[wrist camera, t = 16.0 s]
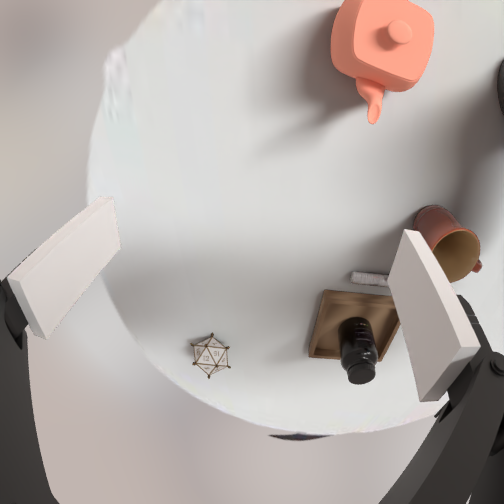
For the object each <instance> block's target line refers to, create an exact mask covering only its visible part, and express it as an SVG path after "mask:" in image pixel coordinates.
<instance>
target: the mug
mask: <svg viewBox="0 0 504 504" xmlns="http://www.w3.org/2000/svg"><path fill="white" fill-rule="evenodd" d="M413 231H419V232H420V234H421V235H422V237H423V238H424V240H425V242H426V243H427V245H428V246H429V248H430V250H431V251H432V253H433V255H434V256H435V258H436V260H437V261H438V263H439V265H440V267H441V268H442V270H443V272H444V274H445V275H446V277H447V279H448V281H449V283H452V282H455V281H458V280H460V279H462V278H464V277H465V276H467V275H468V274H469V273H470V272H471V271H473V272H475V273H478V272H479V271H480V270H481V268H482V263H481V262H480V260H479V255H480V243H479V240H478V238H477V236H476V235H475V234H474V233H473V232H472V231H470V230H468V229H466V228H464V227H462V226H461V225H460V224H459V222H458V221H457V220H456V219H455V217H454V216H453V215H452V214H451V213H450V212H449V211H448V210H446V209H445V208H443V207H441V206H438V205H431V206H428V207H425V208H424V209H422V210H421V211H420V212H419V213H418V214H417V216H416V218H415V220H414V223H413Z"/></svg>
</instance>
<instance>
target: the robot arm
mask: <svg viewBox="0 0 504 504" xmlns="http://www.w3.org/2000/svg"><path fill="white" fill-rule="evenodd" d="M498 96H499V102H500V106H501V109H502V112H503V114H504V61H503V63H502V65H501V67H500V70H499V75H498ZM120 249H121V242H120V237H119V231H118V225H117V219H116V213H115V206H114V199H113V197H99V198H98V199H97V200H95V201H94V202H93V203H91V204H90V205H89V206H88V207H86V208H85V209H84V210H82V211H81V212H80V213H79V214H77V215H76V216H75V217H74V218H72V219H71V220H70V221H69V222H67V223H66V224H65V225H64V226H63V227H61V228H60V229H59V230H58V231H57V232H56V233H54V234H53V235H52V236H51V237H50V238H49V239H47V240H46V241H45V242H44V243H43V244H42V245H41V246H39V247H38V248H37V249H35V250H34V251H33V252H32V253H31V254H30V255H29V256H28V257H26V258H25V259H24V260H23V261H22V263H20V264H19V265H18V266H17V267H16V268H15V269H14V270H13V271H12V272H11V273H10V274H9V275H8V276H7V277H6V278H5V279H4V280H3V281H2V282H1V280H0V504H59V503H58V502H57V500H56V499H55V498H54V496H53V495H52V493H51V490H50V487H49V484H48V480H47V477H46V473H45V469H44V465H43V461H42V457H41V452H40V448H39V443H38V438H37V433H36V427H35V421H34V414H33V408H32V400H31V391H30V380H29V367H28V347H27V333H26V331H25V327H26V326H27V325H28V324H29V326H30V328H31V330H32V332H33V333H34V335H36V336H38V337H41V338H43V339H46V340H48V339H49V337H50V336H51V334H52V333H53V332H54V330H55V329H56V328H57V326H58V325H59V323H60V322H61V321H62V319H63V318H64V317H65V316H66V314H67V313H68V312H69V310H70V309H71V308H72V306H73V305H74V304H75V303H76V301H77V300H78V299H79V297H80V296H81V295H82V294H83V293H84V291H85V290H86V289H87V288H88V286H89V285H90V284H91V283H92V281H93V280H94V279H95V278H96V277H97V275H98V274H99V273H100V272H101V271H102V269H103V268H104V267H105V266H106V265H107V264H108V262H109V261H110V260H111V259H112V258H113V257H114V255H115V254H116V253H117V252H118V251H119V250H120ZM387 282H388V285H389V288H390V291H391V294H392V297H393V300H394V303H395V307H396V310H397V313H398V317H399V320H400V323H401V327H402V330H403V334H404V338H405V341H406V345H407V349H408V353H409V357H410V361H411V365H412V369H413V373H414V377H415V382H416V386H417V391H418V396H419V401H420V402H428V401H439V399H440V398H441V397H442V396H443V395H444V394H445V392H446V391H447V392H448V395H449V401H448V402H447V403H446V404H445V405H444V406H443V407H442V408H441V409H440V410H439V411H438V412H437V414H436V415H435V416H434V417H435V418H436V417H438V418H437V420H436V422H435V423H434V425H433V427H432V428H431V430H430V432H429V434H428V435H427V437H426V438H425V440H424V442H423V443H422V445H421V446H420V448H419V449H418V451H417V453H416V454H415V456H414V457H413V459H412V460H411V461H410V463H409V465H408V466H407V467H406V469H405V470H404V471H403V473H402V474H401V476H400V477H399V478H398V480H397V481H396V482H395V484H394V485H393V486H392V488H391V489H390V490H389V491H388V493H387V494H386V495H385V496H384V498H383V499H382V500H381V501H380V502H379V504H466V502H467V500H468V499H469V497H470V495H471V497H470V500H469V504H504V356H503V355H502V354H500V353H498V352H493V351H492V349H491V347H490V344H489V342H488V340H487V338H486V336H485V334H484V332H483V330H482V327H481V325H480V324H479V321H478V319H477V317H476V316H475V313H474V312H473V310H472V308H471V306H470V304H469V303H468V302H467V301H466V300H465V299H464V298H463V297H462V296H461V295H456V294H455V292H454V290H453V288H452V286H451V284H450V283H449V281H448V279H447V277H446V275H445V274H444V272H443V270H442V268H441V267H440V265H439V263H438V261H437V260H436V258H435V256H434V255H433V253H432V251H431V250H430V248H429V246H428V245H427V243H426V242H425V240H424V238H423V237H422V235H421V234H420V232H419V231H413V230H407V229H404V231H403V234H402V238H401V241H400V244H399V247H398V250H397V253H396V256H395V259H394V262H393V265H392V268H391V271H390V274H389V277H388V279H387ZM471 493H472V494H471Z"/></svg>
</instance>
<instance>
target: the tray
mask: <svg viewBox="0 0 504 504" xmlns="http://www.w3.org/2000/svg"><path fill="white" fill-rule="evenodd" d="M352 317H362V318H365V319H367V320H368V321H369V322H370V324H371V326H372V330H373V335H374V339H375V344H376V348H377V353H378V360H377V362H381V361H382V359H383V357H384V355H385V353H386V352H387V350H388V348H389V346H390V344H391V342H392V340H393V338H394V336H395V334H396V332H397V330H398V328H399V326H400V324H401V323H400V320H399V317H398V313H397V310H396V307H395V303H394V300H393V297H392V296H383V295H372V294H362V293H352V292H342V291H332V290H324V293H323V297H322V301H321V305H320V309H319V312H318V316H317V320H316V324H315V327H314V331H313V335H312V338H311V342H310V345H309V357H312V358H324V359H338V360H341V359H340V350H339V341H338V328H339V326H340V325H341V323H342V322H344V321H345V320H347V319H349V318H352Z"/></svg>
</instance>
